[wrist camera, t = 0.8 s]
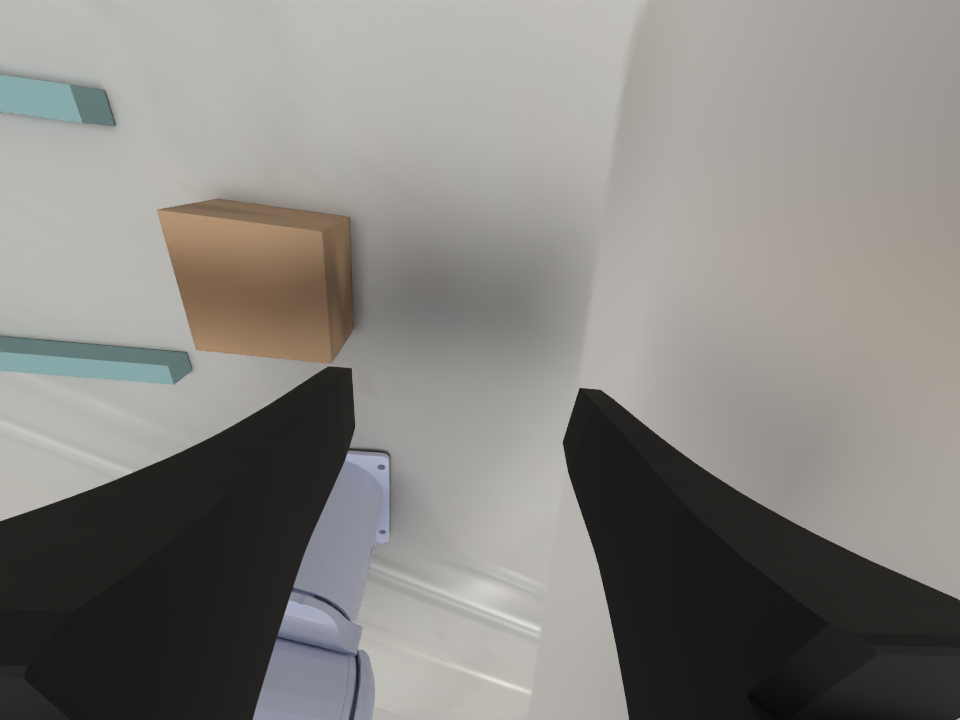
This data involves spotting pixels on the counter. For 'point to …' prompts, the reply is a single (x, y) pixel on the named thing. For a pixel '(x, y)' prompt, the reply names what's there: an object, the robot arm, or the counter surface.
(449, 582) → the counter surface
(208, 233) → the walnut block
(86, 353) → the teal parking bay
